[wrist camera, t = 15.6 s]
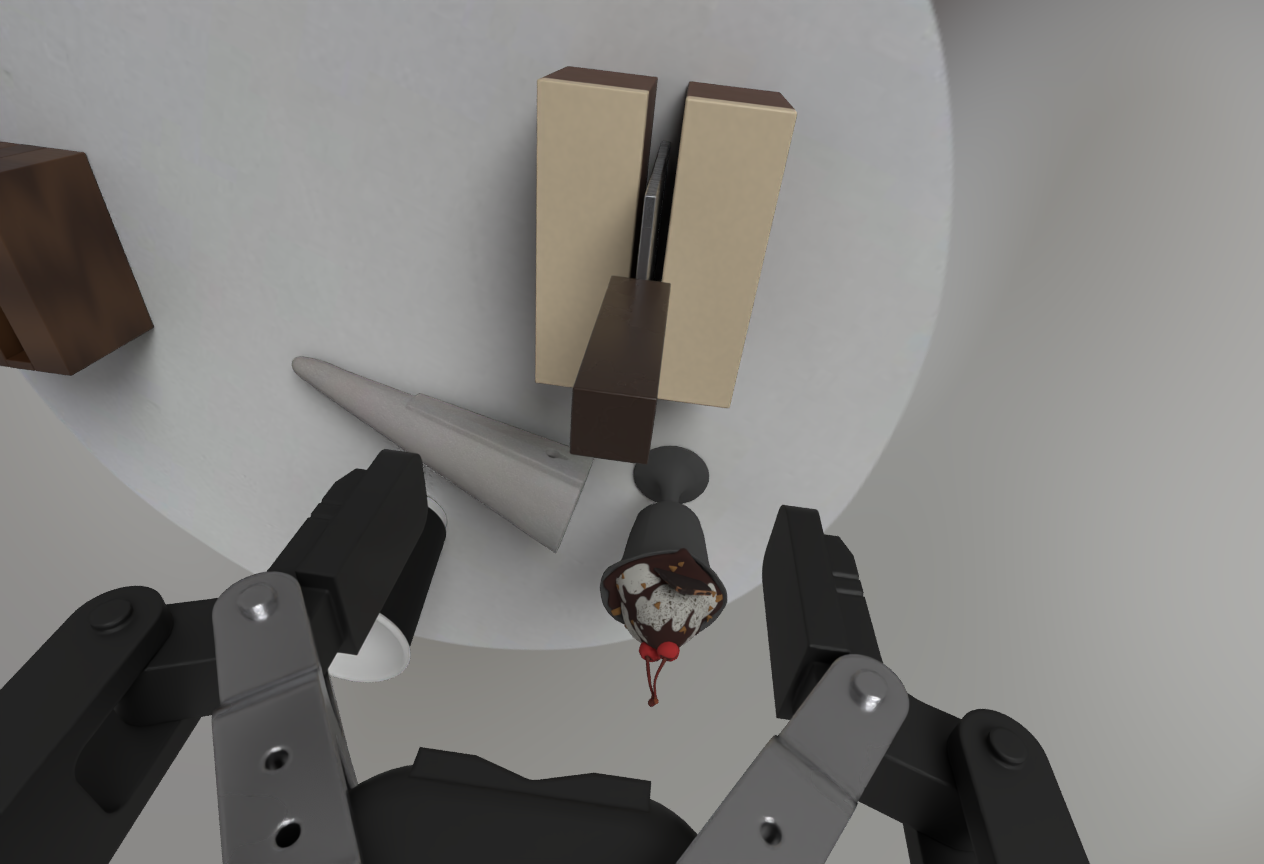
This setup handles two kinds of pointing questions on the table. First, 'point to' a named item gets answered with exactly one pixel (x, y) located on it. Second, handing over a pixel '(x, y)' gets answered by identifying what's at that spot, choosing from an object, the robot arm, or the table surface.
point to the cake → (613, 208)
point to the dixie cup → (397, 611)
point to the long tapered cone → (467, 450)
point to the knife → (625, 351)
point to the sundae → (665, 562)
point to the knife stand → (60, 265)
